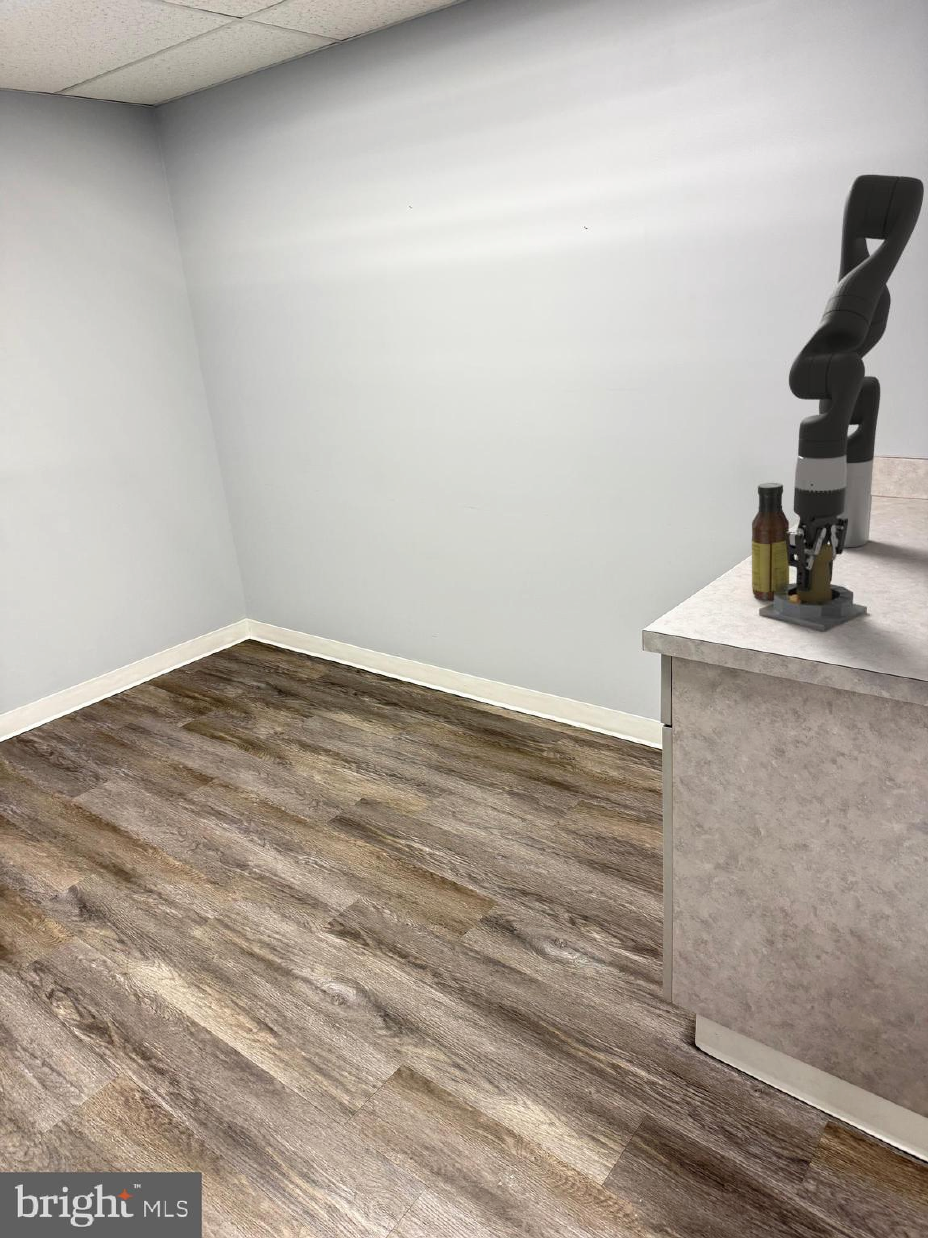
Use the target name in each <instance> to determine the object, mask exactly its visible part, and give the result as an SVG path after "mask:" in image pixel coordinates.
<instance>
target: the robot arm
mask: <svg viewBox="0 0 928 1238" xmlns="http://www.w3.org/2000/svg"><path fill="white" fill-rule="evenodd" d="M924 187H925V186H924V182H923V181H921V179H920V178H916V177H911V176H904V175H903V176H899V175H886V174H885V175H884V174H883V175H882V174H861V175H858V176H857V177H856V178H854V180H852V182H851V184H850V186H849V187H848V190H847V194H846V197H845V201H844V206H843V216H842V225H841V228H842V229H841V244H840V245H841V248H840V264H839V265H840V266H839V274H838V279H837V285H836V286H835V287H834V289H833V290H832V292H831V294H830V296H829V298H828V301H827V304H826V306H825V309H824V311H823V313H822V314H823V315H822V318H821V320H820V322H819V325H818V326H817V328H816V330H815V331H814V332H813V334H812V335H811V336H810V337H809V339H808V340H807V341H806V343H805V345H803V347H802V348H801V350H800V351H799V352H798V353H797V355H796V357H795V359H794V360H793V362H792V364H791V367H790V369H789V373H788V374H789V375H788V386H789V390H790V392H791V393H792V395H794V397H796V398H798V399H801V400H804V401H805V400H806V401H807V400H810V401H813V400H815V401H817V400H818V414H815V415H811V416H807V417H805V418H803V419H802V420H801V422H800V425H799V430H798V446H797V447H798V449H797V460H796V464H795V465H796V466H795V472H794V474H795V475H794V493H793V494H794V495H793V512H794V513H795V514H796V515H797V516H798V517H799V522H798V525H797V529H796V530H795V531H790V530H789V531H788V532H787V533H786V535H785V538H786V548H787V559H788V565H789V567H793V568H796V578H795V579H796V582H795V583H796V588H797V589H798V590H801V591H805V592H807V591H809V590H811V579H812V569H811V568H812V565H813V561H814V558H815V556H817V555H818V554H819V550H820V547H821V545H822V544H829V545H831V546H832V548H833V558H832V561H831V562H830V563H829V570H830V583H831V582H832V580H833V569H834V561H835V560H836V559H837V556H838V555H842V554H843V552H844V548H856V547H862V546H865V545H866V544H867V543H868V540H869V537H870V529H871V528H870V526H871V515H872V514H871V513H872V501H873V500H872V499H873V495H872V486H873V485H872V482H873V468H874V459H875V444H876V434H877V424H878V417H879V412H880V411H879V410H880V403H881V384H880V381H879V379H878V378H877V377H876V376H872V375H869V376H867V375H866V367H865V364H864V361H863V358H864V357H866V355H868V354H869V352H870V351H871V350H873V349H874V347H875V346H877V344H878V343H879V341H880V340H882V338H883V336H884V334H885V332H886V329H887V324H888V319H889V314H890V308H891V294H890V290H889V287H888V286H887V283H888V281H889V280H890V278H891V276H892V274H893V272H894V271H895V269H896V267H897V264H898V263H899V261H900V259H901V257H902V255H903V252H904V250H905V249H906V247H907V245H908V243H909V240H910V238H911V237H912V235H913V232H914V230H915V228H916V225H917V223H918V220H919V217H920V214H921V209H922V205H923V201H924V193H925V188H924ZM867 239H870V240H883V241H882V243H881V244H880V245H879V247H878V248H877V249H875V251H874V252H873V253H872V254H871V255H870V252H869V248H868V243H867ZM865 375H866V376H865ZM850 426H857V428H856V430H854V431H853V432H852V433H850V434H848V433H849V428H850ZM804 545H805V546H806V547H811V548H812V549H811V550H808V549H805V548H804ZM805 554H808V558H807V561H806V560H805ZM795 556H796V557H795Z"/></svg>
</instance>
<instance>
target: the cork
mask: <svg viewBox="0 0 928 1238" xmlns="http://www.w3.org/2000/svg"><path fill="white" fill-rule="evenodd" d="M804 548H805V549H808V550H811V549H812V548H811V547H806V546H805V545H804ZM807 558H808V554H805V560H806V561H807ZM832 558H833V548H832V546H831V545H829V544H822V545H821V547H820V550H819V554H818V555H817V556H815V558H814V561H813V565H812V568H811V569H812V579H811V590H809V591H807V592H805V591H801V590H798V589H797V592H796V595H798V596H801V600H803V601H816V602H821V601H830V600H832V596H831V582H830V570H829V563H830V562H831V561H832Z"/></svg>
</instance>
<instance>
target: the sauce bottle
mask: <svg viewBox="0 0 928 1238" xmlns="http://www.w3.org/2000/svg"><path fill="white" fill-rule="evenodd" d="M757 493H758V511H757V514H756V515H755V517H754V518H753V519H752V522H751V532H752V533H751V534H752V536H751V587H752V594H753V596H754V597H755V598H757V599H759V600H767V601H774V593H775V590H776V588H779V587H781V586H784V585H786V584H790V566H789V565H788V559H787V548H786V538H785V535H786V533H787V532H788V531H789V532H790V527H789V526H790V522H789V520H788V518H787V517H786V514H785V512H784V510H783V505H782V503H783V501H782V500H783V493H784V484H782V483H780V482H764V483H760V484H759V485H757Z"/></svg>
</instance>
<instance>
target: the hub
mask: <svg viewBox="0 0 928 1238" xmlns="http://www.w3.org/2000/svg"><path fill="white" fill-rule="evenodd" d="M796 592H797V588H796V582H794V583H789V584H786V585H784V586H781V587H779V588H776V590H775V593H774V600H773V602H772V603H771V604H768V605H766V606H763V607H761V608H759V610H758V611H759V612H758V615H759V616H763V617H767V618H771V619H774V620H777V621H782V622H784V623H785V622H786V623H789V624H793V625H796V626H801V627H805V628H809V629H811V630H816V631H820V632H823V633H825V632H826V631H829V630H831V629H833V628H836V627H838V626H840V625H843V624H844V623H847V622H849V621H852V620H853V619H855V618H857V617H860V616H863V615H864V614H868V613H867V612H868V606H865V605H862V604H861V605H860V604H857V603H854V592H853V591H851V590H849V589H848V588H846V587H845V586H840V585H836V584H831V596H832V600H830V601H821V602H816V601H803V600H801V596H798V595H796Z"/></svg>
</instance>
